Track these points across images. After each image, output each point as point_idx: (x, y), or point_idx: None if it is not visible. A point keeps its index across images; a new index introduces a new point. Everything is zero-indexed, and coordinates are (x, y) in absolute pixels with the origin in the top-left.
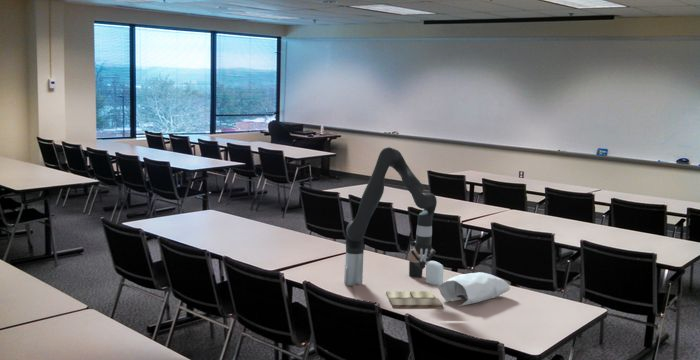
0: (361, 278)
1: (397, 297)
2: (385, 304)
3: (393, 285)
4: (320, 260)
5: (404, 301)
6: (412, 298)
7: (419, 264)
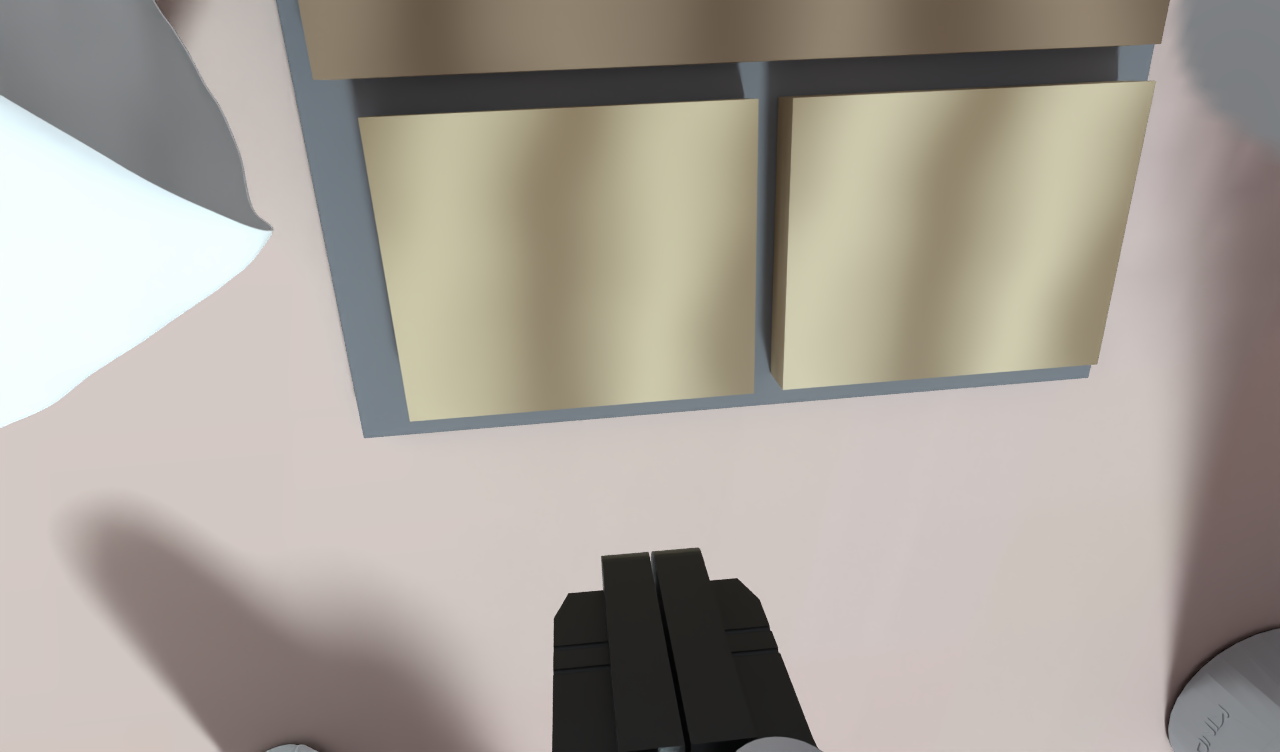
0: (1270, 731)
1: (1023, 91)
2: None
3: (844, 713)
4: None
5: None
6: (784, 59)
7: (781, 667)
